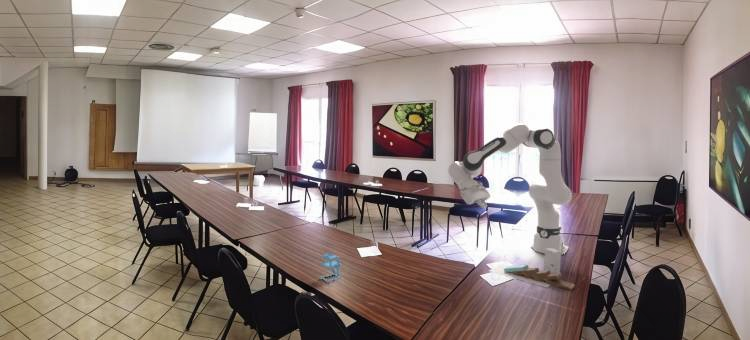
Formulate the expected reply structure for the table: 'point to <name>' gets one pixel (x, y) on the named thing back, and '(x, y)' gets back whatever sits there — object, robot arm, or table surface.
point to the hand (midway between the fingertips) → (485, 207)
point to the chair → (331, 265)
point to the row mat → (518, 276)
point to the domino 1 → (516, 268)
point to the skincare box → (552, 260)
